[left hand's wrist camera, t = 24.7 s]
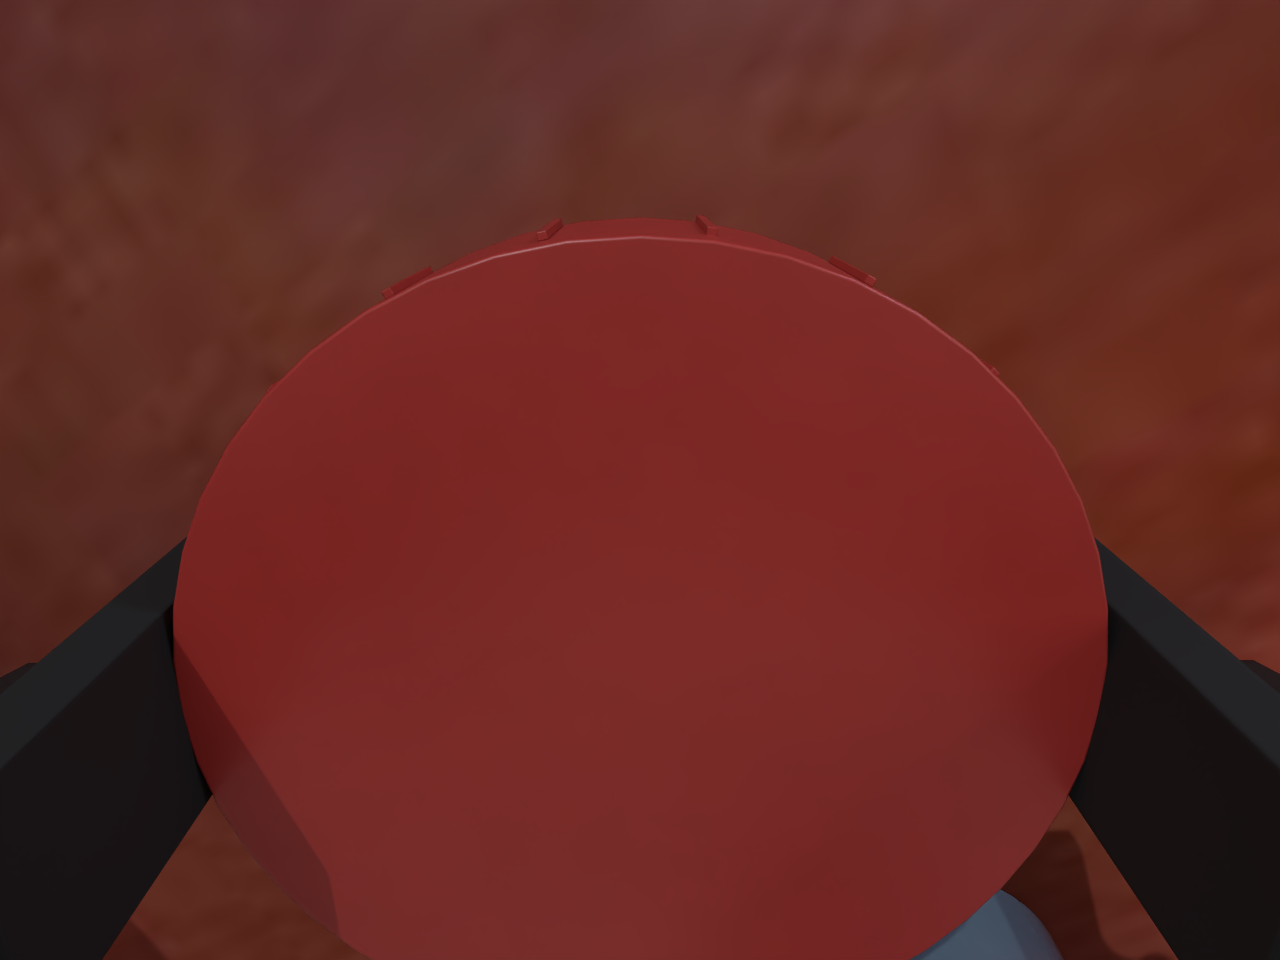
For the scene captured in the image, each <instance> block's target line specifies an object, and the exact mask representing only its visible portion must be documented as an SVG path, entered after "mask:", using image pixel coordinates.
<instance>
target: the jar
mask: <svg viewBox="0 0 1280 960" xmlns="http://www.w3.org/2000/svg"><path fill="white" fill-rule="evenodd" d="M910 960H1064V959H1063V957H1062V955H1061V953H1060V951H1059V949H1058V948H1057V946H1056V944H1055V942H1054V940H1053V938H1052V936H1051V935H1050V934H1049V932H1048V931H1047V929H1046V928H1045V926H1044V925H1043V923H1042V922H1041V921H1040V920H1039V919H1038V918H1037V917H1036V916H1035V915H1034V914H1033V913H1032V912H1031V911H1030V910H1029V908H1027V907H1026V906H1025V905H1023V904H1022V903H1021V902H1019V901H1018V900H1017V899H1015V898H1014V897H1013V896H1011V895H1010V894H1008V893H1006V892H1004V891H1002V890H1001V889H1000V890H999V891H998V892H997V893H996V894H995V895H993V896H992V897H991V898H990V899H989V900H988V901H987V902H986V903H985V904H984V905H983V906H982V907H980V908H979V909H978V910H977V911H976V912H975V913H974V914H973V915H972V916H971V917H970V918H969V919H967V920H966V921H965V922H964V923H962V924H961V925H960V926H958V927H957V928H956V929H954V930H953V931H951V932H950V933H949V934H947V935H946V936H945V937H943V938H942V939H941V940H939V941H938V942H936V943H935V944H934V945H932V946H931V947H930V948H928V949H927V950H926V951H924V952H922V953H920V954H919V955H917V956H915V957H913V958H912V959H910Z"/></svg>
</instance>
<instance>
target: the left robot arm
mask: <svg viewBox="0 0 1280 960" xmlns="http://www.w3.org/2000/svg"><path fill="white" fill-rule="evenodd" d="M186 539H187V537H186V538H185V539H184V540H183V541H182V542H180V543H179V544H178V545H177V546H176V547H174V548H173V549H172V550H171V551H170V552H168V553H167V554H166V555H165V556H164V557H163V558H161V559H160V560H159V561H158V562H157V563H155V564H154V565H153V566H152V567H151V568H150V569H148V570H147V571H146V572H145V573H144V574H142V575H141V576H140V577H139V578H138V579H137V580H135V581H134V582H133V583H132V584H131V585H129V586H128V587H127V588H126V589H125V590H123V591H122V592H121V593H120V594H119V595H118V596H116V597H115V598H114V599H113V600H112V601H110V602H109V603H108V604H107V605H106V606H105V607H103V608H102V609H101V610H100V611H99V612H97V613H96V614H95V615H94V616H93V617H92V618H90V619H89V620H88V621H87V622H86V623H84V624H83V625H82V626H81V627H80V628H78V629H77V630H76V631H75V632H74V633H73V634H71V635H70V636H69V637H68V638H67V639H65V640H64V641H63V642H62V643H61V644H60V645H58V646H57V647H56V648H55V649H54V650H52V651H51V652H50V653H49V654H48V655H47V656H45V657H44V658H43V659H42V660H41V661H39V662H38V663H28V664H26V665H24V666H22V667H20V668H18V669H16V670H14V671H12V672H10V673H8V674H7V675H5V676H3V677H1V678H0V960H102V959H103V957H104V956H105V954H106V953H107V951H108V950H109V948H110V947H111V945H112V944H113V942H114V941H115V939H116V938H117V936H118V935H119V933H120V932H121V930H122V929H123V927H124V926H125V924H126V923H127V921H128V920H129V918H130V917H131V915H132V914H133V912H134V911H135V909H136V908H137V906H138V905H139V903H140V902H141V900H142V899H143V897H144V896H145V894H146V893H147V891H148V890H149V888H150V887H151V885H152V884H153V882H154V881H155V879H156V878H157V876H158V875H159V873H160V872H161V870H162V869H163V867H164V866H165V864H166V863H167V861H168V860H169V858H170V857H171V855H172V854H173V852H174V851H175V849H176V848H177V847H178V845H179V844H180V842H181V841H182V839H183V838H184V836H185V835H186V833H187V832H188V830H189V829H190V827H191V826H192V824H193V823H194V821H195V820H196V818H197V817H198V815H199V814H200V812H201V811H202V809H203V808H204V806H205V805H206V803H207V802H208V800H209V799H210V797H211V796H212V792H211V790H210V788H209V786H208V784H207V782H206V780H205V778H204V775H203V773H202V771H201V769H200V767H199V765H198V763H197V761H196V758H195V754H194V751H193V748H192V745H191V741H190V737H189V733H188V730H187V726H186V722H185V718H184V714H183V709H182V705H181V700H180V695H179V691H178V686H177V681H176V675H175V669H174V662H173V606H174V600H175V594H176V588H177V581H178V575H179V569H180V563H181V556H182V551H183V548H184V545H185V542H186ZM1094 539H1095V542H1096V545H1097V548H1098V551H1099V556H1100V562H1101V568H1102V574H1103V581H1104V587H1105V593H1106V600H1107V606H1108V663H1107V670H1106V676H1105V681H1104V686H1103V691H1102V695H1101V700H1100V705H1099V709H1098V714H1097V718H1096V722H1095V726H1094V730H1093V734H1092V737H1091V741H1090V745H1089V749H1088V752H1087V755H1086V758H1085V761H1084V763H1083V766H1082V768H1081V770H1080V772H1079V774H1078V776H1077V778H1076V780H1075V782H1074V784H1073V786H1072V788H1071V791H1070V793H1069V796H1070V798H1071V799H1072V801H1073V802H1074V804H1075V805H1076V807H1077V808H1078V810H1079V811H1080V813H1081V814H1082V816H1083V817H1084V819H1085V820H1086V822H1087V823H1088V825H1089V826H1090V828H1091V829H1092V831H1093V832H1094V834H1095V835H1096V837H1097V838H1098V840H1099V841H1100V843H1101V844H1102V846H1103V847H1104V849H1105V850H1106V852H1107V853H1108V855H1109V856H1110V858H1111V859H1112V861H1113V862H1114V864H1115V865H1116V867H1117V868H1118V870H1119V871H1120V873H1121V874H1122V876H1123V877H1124V879H1125V880H1126V882H1127V883H1128V885H1129V886H1130V888H1131V889H1132V891H1133V892H1134V894H1135V895H1136V897H1137V898H1138V900H1139V901H1140V903H1141V904H1142V906H1143V907H1144V909H1145V910H1146V912H1147V913H1148V915H1149V916H1150V918H1151V919H1152V921H1153V922H1154V923H1155V925H1156V926H1157V928H1158V929H1159V931H1160V932H1161V934H1162V935H1163V937H1164V938H1165V940H1166V941H1167V943H1168V944H1169V946H1170V947H1171V949H1172V950H1173V952H1174V953H1175V955H1176V956H1177V958H1178V959H1179V960H1280V674H1279V673H1277V672H1275V671H1273V670H1271V669H1269V668H1267V667H1265V666H1263V665H1261V664H1260V663H1258V662H1256V661H1254V660H1239V659H1238V658H1236V657H1235V656H1234V655H1233V654H1232V653H1231V652H1229V651H1228V650H1227V649H1226V648H1225V647H1223V646H1222V645H1221V644H1220V643H1219V642H1218V641H1216V640H1215V639H1214V638H1213V637H1212V636H1210V635H1209V634H1208V633H1207V632H1206V631H1204V630H1203V629H1202V628H1201V627H1200V626H1199V625H1197V624H1196V623H1195V622H1194V621H1193V620H1191V619H1190V618H1189V617H1188V616H1187V615H1186V614H1184V613H1183V612H1182V611H1181V610H1180V609H1178V608H1177V607H1176V606H1175V605H1174V604H1173V603H1171V602H1170V601H1169V600H1168V599H1167V598H1165V597H1164V596H1163V595H1162V594H1161V593H1159V592H1158V591H1157V590H1156V589H1155V588H1154V587H1152V586H1151V585H1150V584H1149V583H1148V582H1146V581H1145V580H1144V579H1143V578H1142V577H1141V576H1139V575H1138V574H1137V573H1136V572H1135V571H1133V570H1132V569H1131V568H1130V567H1129V566H1128V565H1126V564H1125V563H1124V562H1123V561H1122V560H1120V559H1119V558H1118V557H1117V556H1116V555H1114V554H1113V553H1112V552H1111V551H1110V550H1109V549H1107V548H1106V547H1105V546H1104V545H1103V544H1101V543H1100V542H1099V541H1098V540H1097V539H1096V538H1094Z"/></svg>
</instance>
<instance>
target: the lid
mask: <svg viewBox="0 0 1280 960" xmlns="http://www.w3.org/2000/svg"><path fill="white" fill-rule="evenodd" d="M876 280H877V279H876V278H874V277H872V276H870V275H868V274H866V273H864V272H862V271H861V270H859V269H857V268H855V267H853V266H851V265H849V264H847V263H845V262H843V261H842V260H840V259H838V258H836V257H834V256H831V258H830V260H829V262H827V261H825V260H823V259H821V258H819V257H817V256H815V255H813V254H812V253H809V252H807V251H804V250H801V249H798V248H795V247H793V246H790V245H787V244H784V243H781V242H779V241H776V240H773V239H770V238H768V237H765V236H762V235H759V234H756V233H752V232H747V231H742V230H737V229H733V228H728V227H723V226H718V225H714V224H713V223H712V222H711V221H710V220H709V219H707V218H706V217H705V216H702V215H697V216H696V221H684V220H670V219H656V218H626V219H611V220H596V221H582V222H577V223H572V224H568V225H563V224H562V219H561V218H560V219H555V220H553V221H551V222H550V223H549V224H547V225H546V226H545V227H543V228H542V229H541V230H539V231H534V232H529V233H525V234H522V235H519V236H516V237H513V238H511V239H508V240H505V241H502V242H500V243H497V244H494V245H491V246H488V247H486V248H483V249H480V250H477V251H474V252H472V253H470V254H468V255H466V256H464V257H462V258H460V259H458V260H456V261H454V262H452V263H451V264H449V265H447V266H445V267H443V268H441V269H439V270H437V271H435V272H433V271H432V270H431V268H430V267H427V268H425V269H423V270H421V271H419V272H417V273H415V274H413V275H412V276H410V277H408V278H406V279H404V280H402V281H400V282H398V283H396V284H394V285H393V286H391V287H389V288H387V289H385V290H384V291H382V294H383V296H384V297H385V300H383V301H381V302H380V303H378V304H376V305H374V306H372V307H371V308H369V309H367V310H365V311H364V312H362V313H361V314H360V315H358V316H357V317H356V318H354V319H353V320H351V321H350V322H349V323H347V324H346V325H345V326H343V327H342V328H340V329H339V330H338V331H336V332H335V333H334V334H332V335H331V336H329V337H328V338H327V339H325V340H324V341H323V342H321V343H320V344H318V345H317V346H316V347H314V348H313V349H312V350H310V351H309V352H308V353H307V354H306V355H305V356H304V357H303V358H302V359H301V360H300V361H299V362H298V363H297V364H296V365H295V366H294V367H293V368H292V369H291V370H290V371H289V372H288V373H287V374H286V375H285V376H284V377H283V378H282V379H281V380H279V381H278V382H276V383H274V384H273V385H271V386H270V387H269V389H268V390H267V391H266V393H267V394H266V395H265V396H264V397H263V398H262V399H261V401H260V402H259V404H258V405H257V406H256V408H255V409H254V410H253V412H252V413H251V414H250V416H249V417H248V418H247V420H246V421H245V422H244V424H243V425H242V426H241V428H240V429H239V431H238V432H237V433H236V435H235V436H234V437H233V439H232V440H231V441H230V443H229V444H228V445H227V447H226V449H225V451H224V453H223V455H222V457H221V459H220V461H219V463H218V464H217V466H216V468H215V470H214V472H213V474H212V476H211V478H210V480H209V482H208V484H207V486H206V488H205V489H204V491H203V493H202V495H201V497H200V500H199V503H198V506H197V509H196V512H195V515H194V518H193V521H192V524H191V527H190V530H189V533H188V536H187V539H186V542H185V545H184V548H183V551H182V556H181V563H180V569H179V575H178V581H177V588H176V594H175V600H174V606H173V662H174V669H175V675H176V681H177V686H178V691H179V695H180V700H181V705H182V709H183V714H184V718H185V722H186V726H187V730H188V733H189V737H190V741H191V745H192V748H193V751H194V754H195V758H196V761H197V763H198V765H199V767H200V769H201V771H202V773H203V775H204V778H205V780H206V782H207V784H208V786H209V788H210V790H211V792H212V794H213V796H214V799H215V801H216V803H217V805H218V807H219V808H220V810H221V811H222V813H223V814H224V816H225V818H226V819H227V821H228V822H229V824H230V825H231V827H232V828H233V830H234V831H235V833H236V834H237V836H238V837H239V839H240V840H241V842H242V844H243V845H244V847H245V848H246V849H247V851H248V852H249V853H250V854H251V855H252V856H253V858H254V859H255V860H256V861H257V862H258V863H259V865H260V866H261V867H262V868H263V869H264V871H265V872H266V873H267V874H268V875H269V876H270V878H271V879H272V880H273V881H274V882H275V883H276V885H277V886H278V887H279V888H280V889H281V890H282V891H284V892H285V893H286V894H287V895H288V896H289V897H290V898H291V899H292V900H293V901H294V902H295V903H296V904H298V905H299V906H300V907H301V908H302V909H303V910H304V911H305V912H306V913H307V914H308V915H309V916H311V917H312V918H313V919H314V920H315V921H316V922H318V923H319V924H320V925H322V926H323V927H324V928H326V929H327V930H329V931H330V932H331V933H333V934H334V935H335V936H337V937H338V938H339V939H341V940H342V941H343V942H345V943H346V944H348V945H349V946H350V947H352V948H353V949H354V950H356V951H358V952H359V953H361V954H363V955H364V956H366V957H368V958H370V959H371V960H910V959H912V958H913V957H915V956H917V955H919V954H920V953H922V952H924V951H926V950H927V949H928V948H930V947H931V946H932V945H934V944H935V943H936V942H938V941H939V940H941V939H942V938H943V937H945V936H946V935H947V934H949V933H950V932H951V931H953V930H954V929H956V928H957V927H958V926H960V925H961V924H962V923H964V922H965V921H966V920H967V919H969V918H970V917H971V916H972V915H973V914H974V913H975V912H976V911H977V910H978V909H979V908H980V907H982V906H983V905H984V904H985V903H986V902H987V901H988V900H989V899H990V898H991V897H992V896H993V895H995V894H996V893H997V892H998V891H999V890H1000V889H1001V888H1002V887H1003V886H1004V885H1005V884H1006V883H1007V881H1008V880H1009V879H1010V878H1011V877H1012V875H1013V874H1014V873H1015V872H1016V871H1017V870H1018V868H1019V867H1020V866H1021V865H1022V864H1023V863H1024V861H1025V860H1026V859H1027V858H1028V857H1029V856H1030V854H1031V853H1032V852H1033V851H1034V850H1035V848H1036V847H1037V845H1038V844H1039V842H1040V841H1041V839H1042V838H1043V836H1044V835H1045V833H1046V832H1047V830H1048V829H1049V827H1050V826H1051V824H1052V822H1053V821H1054V819H1055V818H1056V816H1057V815H1058V813H1059V812H1060V810H1061V809H1062V807H1063V805H1064V803H1065V801H1066V799H1067V797H1068V795H1069V793H1070V791H1071V788H1072V786H1073V784H1074V782H1075V780H1076V778H1077V776H1078V774H1079V772H1080V770H1081V768H1082V766H1083V763H1084V761H1085V758H1086V755H1087V752H1088V749H1089V745H1090V741H1091V737H1092V734H1093V730H1094V726H1095V722H1096V718H1097V714H1098V709H1099V705H1100V700H1101V695H1102V691H1103V686H1104V681H1105V676H1106V670H1107V663H1108V606H1107V600H1106V593H1105V587H1104V581H1103V574H1102V568H1101V562H1100V556H1099V551H1098V548H1097V545H1096V542H1095V539H1094V536H1093V533H1092V530H1091V527H1090V524H1089V521H1088V518H1087V515H1086V511H1085V508H1084V505H1083V502H1082V499H1081V497H1080V495H1079V493H1078V491H1077V489H1076V488H1075V486H1074V484H1073V482H1072V480H1071V478H1070V476H1069V474H1068V472H1067V470H1066V468H1065V466H1064V464H1063V462H1062V461H1061V459H1060V457H1059V455H1058V453H1057V451H1056V449H1055V447H1054V445H1053V444H1052V443H1051V441H1050V440H1049V439H1048V437H1047V436H1046V435H1045V433H1044V432H1043V431H1042V429H1041V428H1040V426H1039V425H1038V424H1037V422H1036V421H1035V420H1034V418H1033V417H1032V416H1031V414H1030V413H1029V412H1028V410H1027V409H1026V408H1025V406H1024V405H1023V403H1022V402H1021V401H1020V399H1019V398H1018V397H1017V396H1016V395H1015V394H1014V393H1013V392H1012V391H1011V390H1010V389H1009V388H1008V387H1007V386H1006V385H1005V384H1004V383H1003V382H1002V381H1001V380H1000V379H999V378H998V377H997V376H998V375H999V372H998V371H997V370H996V369H995V368H994V367H992V366H991V365H989V364H987V363H986V362H984V361H982V360H981V359H979V358H978V357H977V356H976V355H975V354H974V353H973V352H972V351H971V350H969V349H968V348H967V347H965V346H964V345H962V344H961V343H960V342H958V341H957V340H956V339H954V338H953V337H951V336H950V335H949V334H947V333H946V332H945V331H943V330H942V329H941V328H939V327H938V326H936V325H935V324H934V323H932V322H931V321H930V320H928V319H927V318H925V317H924V316H923V315H921V314H920V313H919V312H917V311H915V310H914V309H912V308H910V307H908V306H907V305H905V304H903V303H901V302H900V301H898V300H896V299H894V298H893V297H891V296H889V295H887V294H885V293H884V292H882V291H880V290H878V289H877V288H875V287H873V286H874V284H875V282H876Z"/></svg>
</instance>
